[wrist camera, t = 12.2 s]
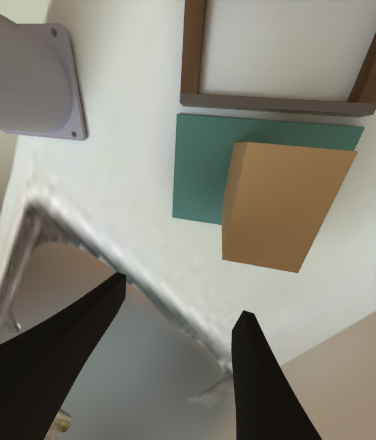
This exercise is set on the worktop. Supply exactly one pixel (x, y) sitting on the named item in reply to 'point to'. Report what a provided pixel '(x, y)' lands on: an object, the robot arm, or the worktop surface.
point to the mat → (222, 151)
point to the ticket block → (278, 201)
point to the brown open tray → (189, 96)
